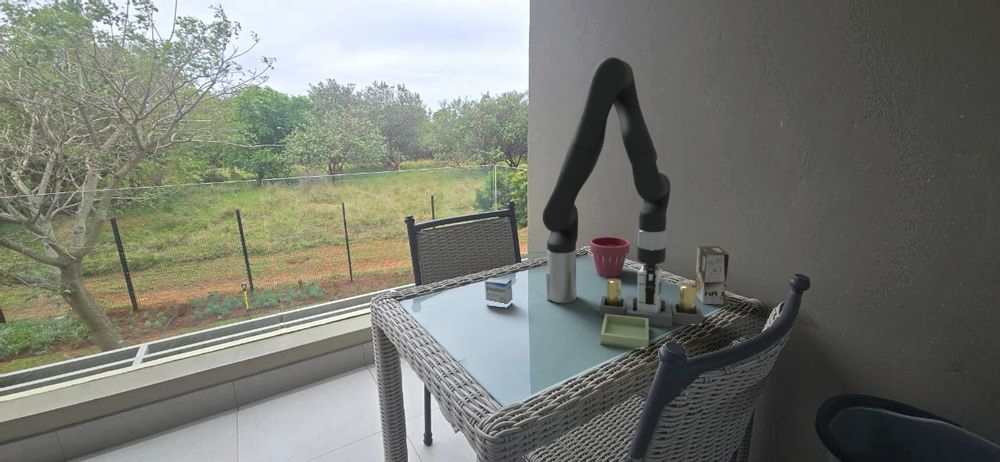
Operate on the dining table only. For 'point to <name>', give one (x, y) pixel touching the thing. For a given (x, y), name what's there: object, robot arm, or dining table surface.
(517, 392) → the dining table surface
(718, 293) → the coffee box
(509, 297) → the medicine box
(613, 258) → the plant pot
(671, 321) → the socket block
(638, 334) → the tray
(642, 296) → the syrup box
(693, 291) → the right brass peg
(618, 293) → the left brass peg
